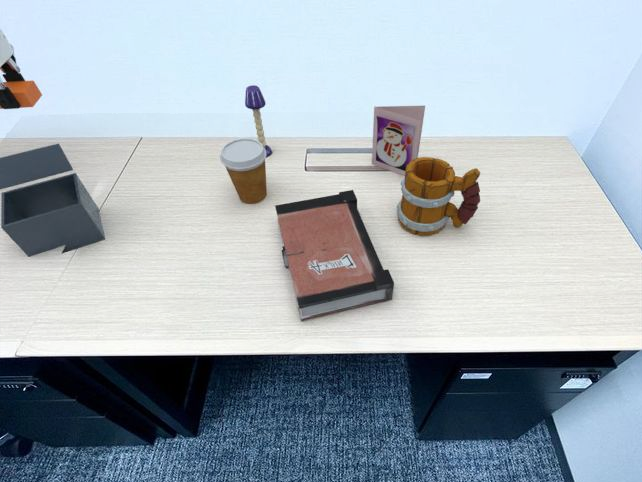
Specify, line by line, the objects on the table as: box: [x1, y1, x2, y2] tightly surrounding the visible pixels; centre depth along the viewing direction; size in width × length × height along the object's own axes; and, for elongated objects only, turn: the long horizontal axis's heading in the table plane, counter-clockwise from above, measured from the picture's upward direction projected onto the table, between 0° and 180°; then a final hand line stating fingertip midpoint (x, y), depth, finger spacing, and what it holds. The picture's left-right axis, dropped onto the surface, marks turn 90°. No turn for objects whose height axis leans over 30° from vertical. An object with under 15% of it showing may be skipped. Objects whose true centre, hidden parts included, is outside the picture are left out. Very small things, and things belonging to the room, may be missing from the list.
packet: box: [0, 80, 43, 110], centre depth 79 cm, size 7×5×3 cm
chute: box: [0, 172, 106, 258], centre depth 79 cm, size 13×11×10 cm
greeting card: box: [371, 105, 426, 177], centre depth 93 cm, size 11×7×15 cm, turn 58°
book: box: [274, 189, 395, 322], centre depth 77 cm, size 26×18×5 cm
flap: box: [0, 143, 74, 190], centre depth 77 cm, size 13×5×1 cm
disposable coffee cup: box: [219, 137, 268, 205], centre depth 87 cm, size 10×10×12 cm
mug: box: [396, 156, 481, 237], centre depth 80 cm, size 11×16×15 cm, turn 70°
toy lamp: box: [244, 84, 273, 158], centre depth 96 cm, size 5×5×17 cm
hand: (17, 99), depth 79 cm, fingers closed on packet, 5 cm apart
